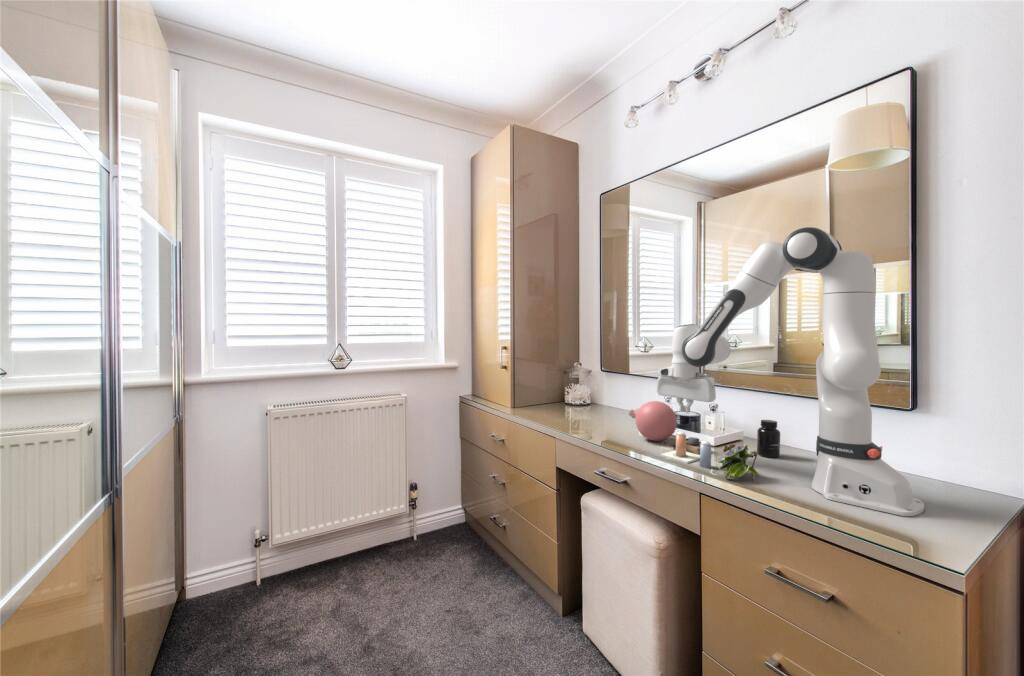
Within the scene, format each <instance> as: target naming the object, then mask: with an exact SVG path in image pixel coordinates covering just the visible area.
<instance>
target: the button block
mask: <svg viewBox="0 0 1024 676" xmlns="http://www.w3.org/2000/svg"><path fill="white" fill-rule="evenodd" d="M700 444H701V441H699V446H692V445H688V440H686V452H689V453H693V454H697V455H700Z"/></svg>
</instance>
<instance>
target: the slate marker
mask: <svg viewBox="0 0 1024 676" xmlns="http://www.w3.org/2000/svg"><path fill="white" fill-rule="evenodd" d="M700 443H701V444H700V460H699V467H700V468H704V469H710V468H712V445H711V443H710V441H707V440H701V441H700Z"/></svg>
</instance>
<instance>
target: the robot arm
mask: <svg viewBox="0 0 1024 676" xmlns="http://www.w3.org/2000/svg"><path fill="white" fill-rule="evenodd" d="M791 271H798V272H806V273H810V274H811V273H812V274H814V273H815V274H817V273H818V274H819V275H820V276H821V278H822V279H821V280H822V294H821V295H822V296H821V297H822V298H821V328H822V338H823V351H821V352H820V354H819V355H818V356H817V359H816V361H815V366H816V368H815V369H816V387H817V389H816V390H817V397H818V398H817V399H818V412H819V413H818V435H817V436H816V444H815V450H816V457H817V461H816V466H815V471H814V476H813V478H812V481H811V483H810V487H811V488H812V489H813V490H814V491H816V492H818V493H820V494H821V495H822V496H823V497H825V498H826V499H827V500H831V501H834V502H838V503H844V504H848V505H852V506H857V507H862V508H867V509H871V510H875V511H879V512H883V513H884V512H885V513H889V514H892V515H897V516H902V517H913V516H918V515H920V514H922V513H923V512H924V511H925V504H924V502H923V501H922V500H921V499H919V498H916V497H913V494H912V487H911V484H910V481H909V480H908V479H907V478H906V476H904V475H903V474H901V473H900V472H899V471H897V470H896V469H895V468H893V467H892V466H891V465H890V464H888V462H886V461H885V460H883V459H882V455H883V453H882V452H883V446H881V445H880V446H878V445H877V444H875V443H873V441H872V438H873V437H872V435H873V434H872V433H873V432H872V431H873V428H872V427H873V426H872V424H873V411H872V408H871V403H870V399H869V393H868V392H869V391H868V388H870V387H871V386H873V385H875V384H876V383H877V382H878V381H879V379H880V377H881V372H882V367H881V364H880V355H879V347H878V338H877V333H876V322H875V321H876V295H877V293H876V292H877V291H876V289H877V285H876V284H877V283H876V274H875V273H876V272H875V267H874V263H873V259H872V257H871V256H870V255H868V254H867V253H864V252H861V251H855V250H851V251H844V250H843V248H842V246H841V243H840V242H839V241H838V240H837V239H836V238H835V237H834V236H833V235H832V234H830V233H829V232H828V231H825V230H823V229H820V228H818V227H811V226H809V227H808V226H806V227H801V228H798V229H796V230H794V231H793V232H791V233H790V234H789V235H787V236H786V238H785V239H784V242H783V243H780V242H777V241H768V242H767V241H766V242H763V243H762V244H761V245H759V246H758V248H757V249H755V251H754V252H753V253H752V254H751V255H750V256H749V258H748V259H747V260H746V262H745V263H744V264H743V266H742V267H741V269H740V270H739V272H738V274H737V275H736V277H735V278H734V280H733V281H732V282H731V285H730V286H729V288H728V289H727V291H726V292H725V293H724V295H723V296H722V298H721V299H720V300H719V301H718V303H717V304H716V305H715V306H714V308H713V309H712V310H711V312H710V313H709V315H708V316H707V317H706V319H705V320H704V321H703V323H702V324H701V325H700V326H699V325H697V324H693V323H690V324H683V325H679V326H676V327H675V328H674V329H673V332H672V337H671V340H672V341H671V353H672V359H671V366H667V367H663V368H660V369H658V370H657V371H658V375H659V376H658V378H657V380H656V393H657V394H658V396H663V397H670V398H676V402H677V404H678V406H679V412H684V413H690V412H691V407H692V406H693V404H694V401H696V402H697V401H698V402H703V403H713V402H714V401H715V400H716V398H717V397H716V394H717V392H716V378H715V377H714V376H713V375H711V374H710V373H704V372H700V367H701V368H702V367H704V366H707V365H713V364H719V363H722V362H724V361H726V359H728V358H729V356H730V354H731V345H730V342H729V341H728V339H727V338H726V337H724V336H723V335H724V333H725V331H726V330H727V329H728V327H729V326H730V325H731V324H732V322H733V321H734V320H735V319H736V318H737V317H739V315H741V314H742V313H745V312H747V311H749V310H751V309H753V308H758V307H759V306H761V305H762V304H763V303H764V302H766V300H768V298H770V297H771V295H773V293H774V292H775V290H776V289H777V287H778V285H780V283H781V281H783V280H782V279H783V278H784V277H785V276H787V274H788V273H789V272H791ZM684 400H686V401H685V402H686V403H687V404H686V405H685V404H684V402H683V401H684Z"/></svg>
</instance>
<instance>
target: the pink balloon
mask: <svg viewBox="0 0 1024 676" xmlns="http://www.w3.org/2000/svg"><path fill="white" fill-rule="evenodd" d="M627 413H628V415H629V416H630V418H632V419H635V425H636V428H637V431H638V432H639V433H640V434H641V435H642V436H643V437H644V438H645V439H647V440H650V441H653V442H662V441H666V440H667V439H669V438H671V437H672V436H673V435H674V433H675V432H676V430H677V425H678V419H677V415H676V413H675V412H674V410H673V408H672V407H671V406H670V405H668V404H666V403H665V402H662V401H659V400H658V401H657V400H652V401H649V402H645V403H644V404H642V405H641V406H640V407H639V408H636V409H629V410H628V411H627Z"/></svg>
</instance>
